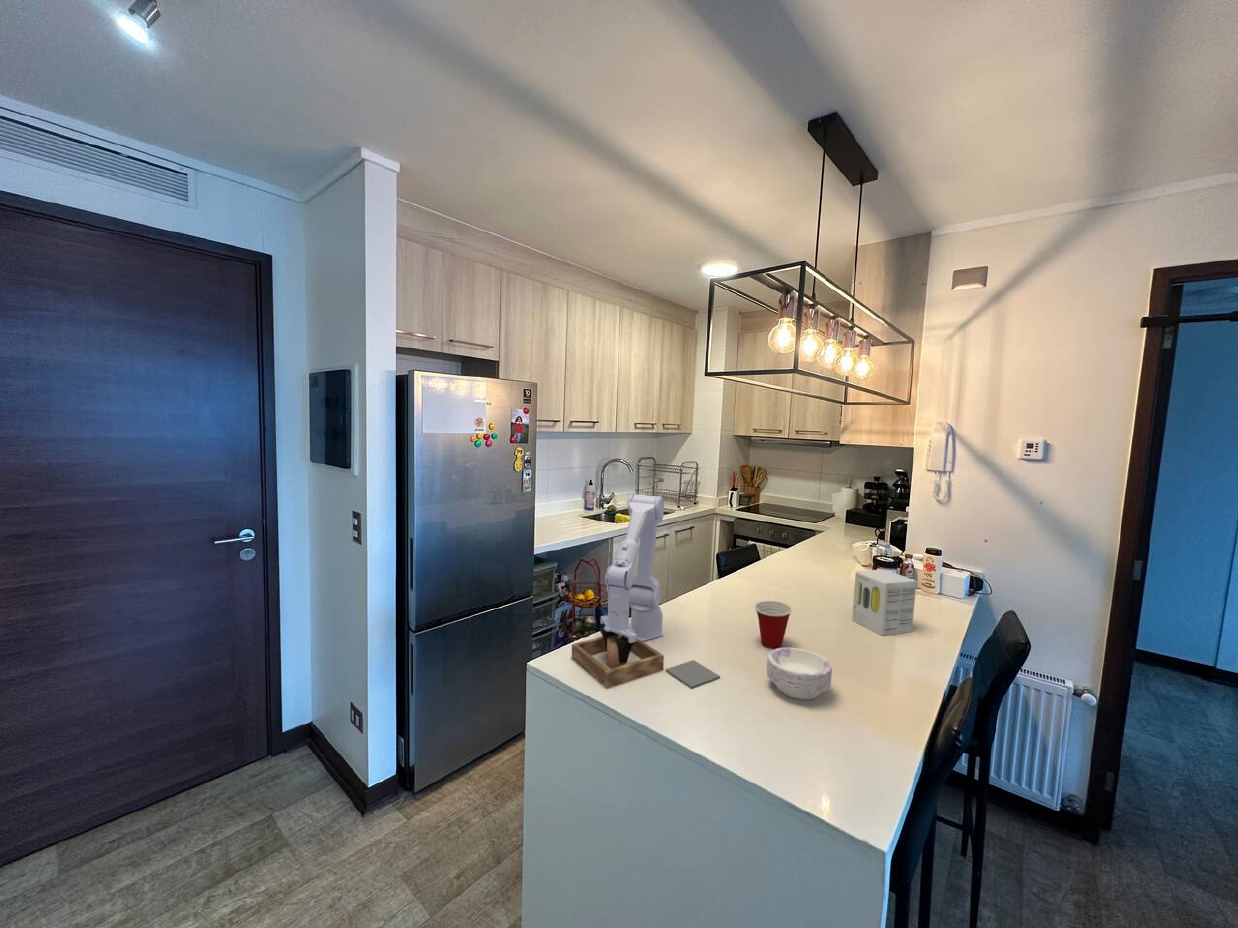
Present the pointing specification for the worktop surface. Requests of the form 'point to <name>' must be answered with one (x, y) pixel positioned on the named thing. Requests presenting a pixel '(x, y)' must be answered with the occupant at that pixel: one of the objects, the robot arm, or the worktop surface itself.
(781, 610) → the plastic cup
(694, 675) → the slate pad
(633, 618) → the robot arm
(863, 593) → the supplement box
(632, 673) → the brown wooden square frame
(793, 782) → the worktop surface
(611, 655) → the terracotta pot
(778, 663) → the paper bowls
